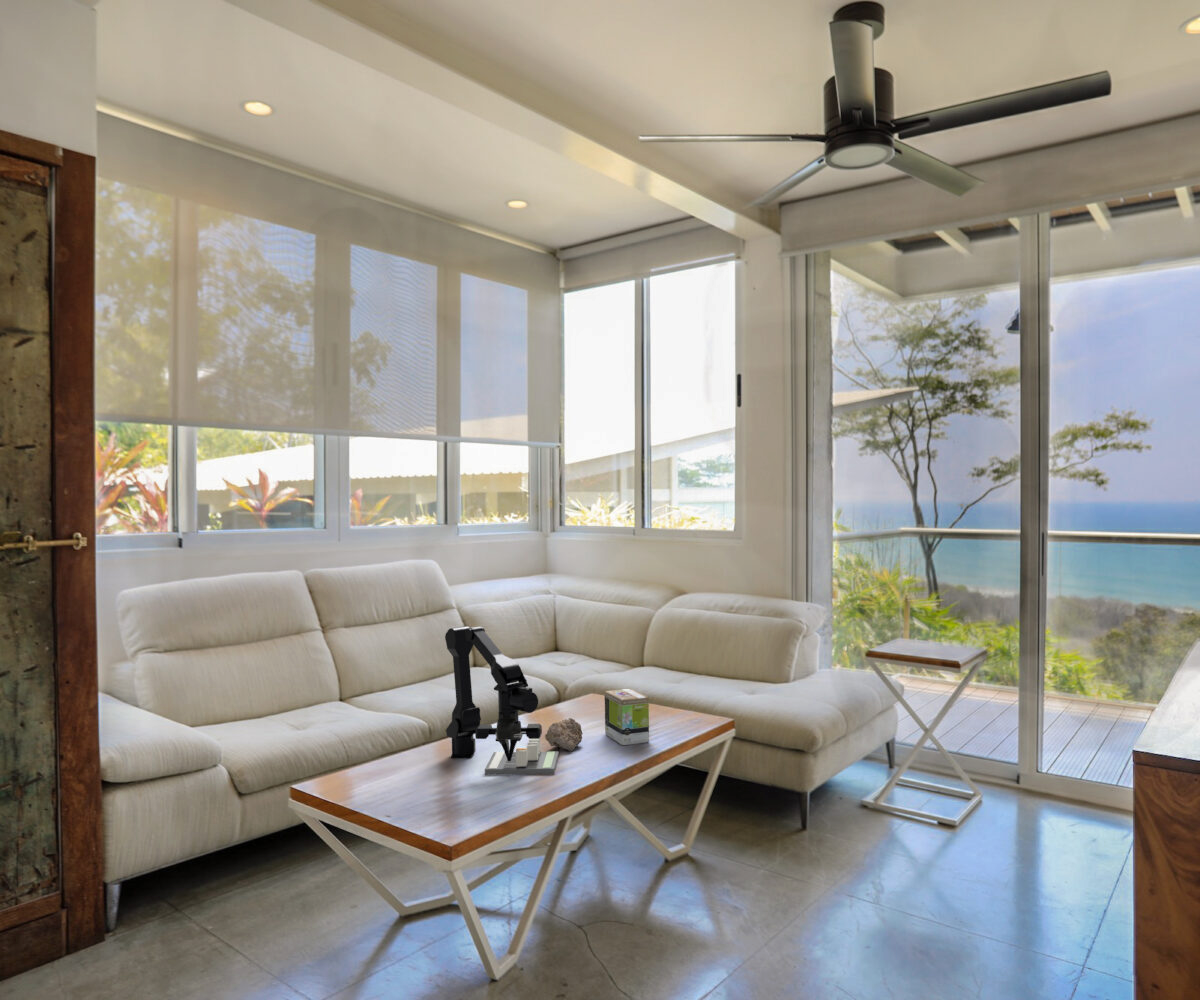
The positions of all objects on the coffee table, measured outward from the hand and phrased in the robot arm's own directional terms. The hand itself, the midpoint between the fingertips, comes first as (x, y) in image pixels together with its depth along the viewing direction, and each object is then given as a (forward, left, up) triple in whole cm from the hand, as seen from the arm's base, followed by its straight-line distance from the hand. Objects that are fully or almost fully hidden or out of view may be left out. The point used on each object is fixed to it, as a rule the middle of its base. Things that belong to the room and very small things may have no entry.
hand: (509, 760), depth 238 cm
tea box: (+34, +32, -3) cm, 47 cm away
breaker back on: (+6, +11, -1) cm, 13 cm away
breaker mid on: (+6, +6, -1) cm, 8 cm away
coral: (+15, +23, -3) cm, 27 cm away
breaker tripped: (+3, 0, -1) cm, 4 cm away
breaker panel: (+3, +6, -3) cm, 7 cm away
